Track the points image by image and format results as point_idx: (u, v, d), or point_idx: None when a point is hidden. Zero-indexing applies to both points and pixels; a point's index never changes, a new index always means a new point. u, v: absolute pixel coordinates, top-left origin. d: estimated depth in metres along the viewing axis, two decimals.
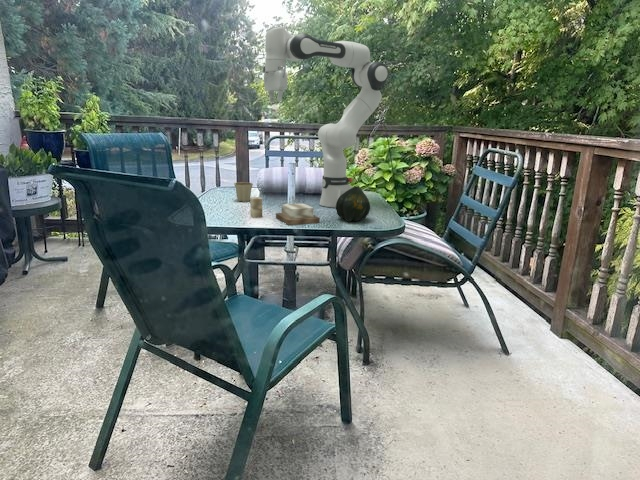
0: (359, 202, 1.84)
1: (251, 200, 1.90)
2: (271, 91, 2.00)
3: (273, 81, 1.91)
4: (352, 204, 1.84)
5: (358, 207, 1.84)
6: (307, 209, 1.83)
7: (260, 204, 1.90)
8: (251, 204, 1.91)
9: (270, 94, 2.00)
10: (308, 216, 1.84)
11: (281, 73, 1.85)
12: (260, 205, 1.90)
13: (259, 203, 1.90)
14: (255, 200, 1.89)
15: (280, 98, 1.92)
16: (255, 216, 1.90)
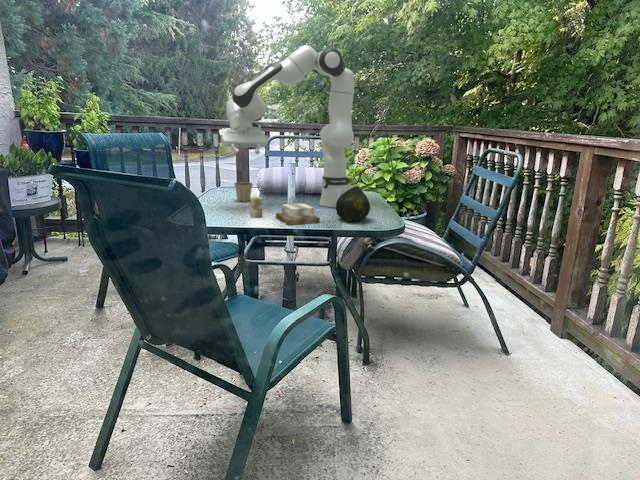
0: (359, 202, 1.84)
1: (251, 200, 1.90)
2: (256, 145, 2.00)
3: None
4: (352, 204, 1.84)
5: (358, 207, 1.84)
6: (307, 209, 1.83)
7: (260, 204, 1.90)
8: (251, 204, 1.91)
9: None
10: (308, 216, 1.84)
11: None
12: (260, 205, 1.90)
13: (259, 203, 1.90)
14: (255, 200, 1.89)
15: (234, 150, 1.94)
16: (255, 216, 1.90)
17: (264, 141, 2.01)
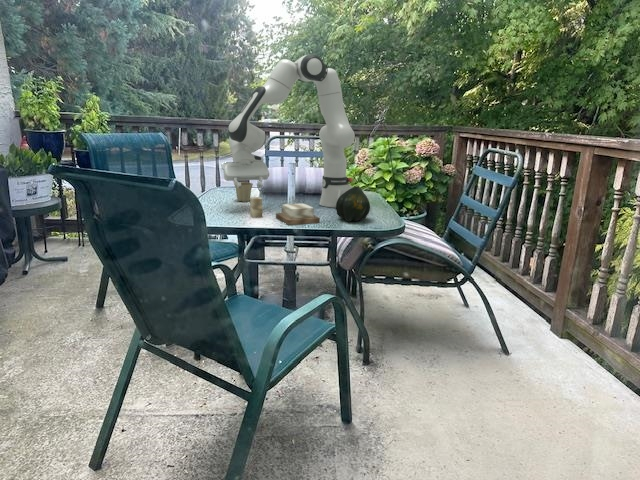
0: (359, 202, 1.84)
1: (251, 200, 1.90)
2: (259, 178, 2.01)
3: None
4: (352, 204, 1.84)
5: (358, 207, 1.84)
6: (307, 209, 1.83)
7: (260, 204, 1.90)
8: (251, 204, 1.91)
9: (260, 181, 2.01)
10: (308, 216, 1.84)
11: None
12: (260, 205, 1.90)
13: (259, 203, 1.90)
14: (255, 200, 1.88)
15: (237, 184, 1.95)
16: (255, 216, 1.90)
17: (267, 174, 2.01)
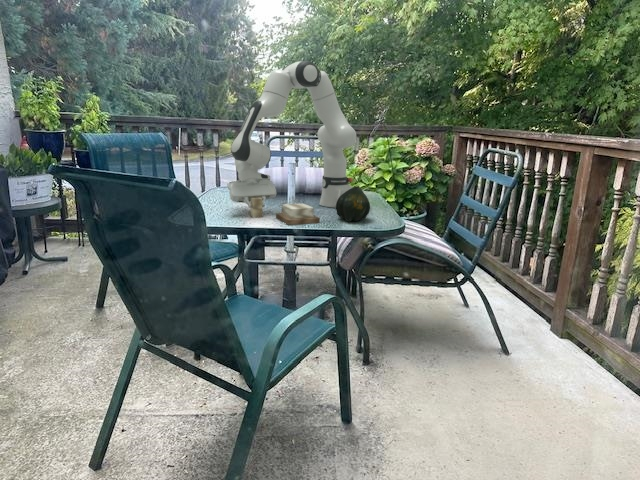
0: (359, 202, 1.84)
1: (251, 200, 1.90)
2: None
3: None
4: (352, 204, 1.84)
5: (358, 207, 1.84)
6: (307, 209, 1.83)
7: (260, 204, 1.90)
8: None
9: (262, 200, 1.94)
10: (308, 216, 1.84)
11: None
12: (260, 205, 1.90)
13: (259, 203, 1.90)
14: (255, 200, 1.88)
15: (248, 204, 1.90)
16: (255, 216, 1.90)
17: (274, 193, 1.95)
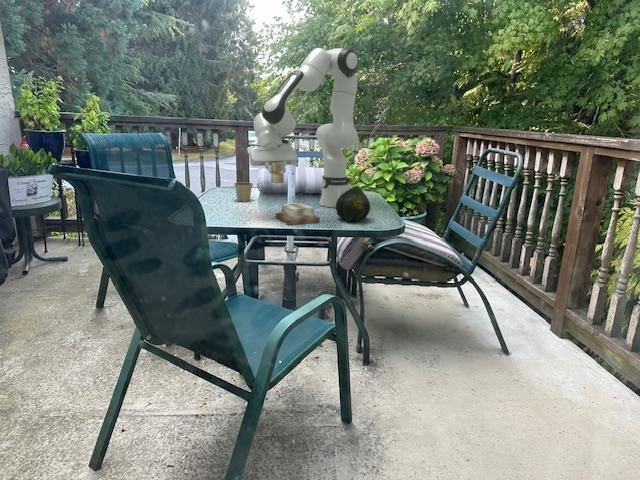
0: (359, 202, 1.84)
1: (272, 165, 1.84)
2: None
3: None
4: (352, 204, 1.84)
5: (358, 207, 1.84)
6: (307, 209, 1.83)
7: (281, 169, 1.84)
8: None
9: None
10: (308, 216, 1.84)
11: None
12: (281, 170, 1.84)
13: (280, 168, 1.84)
14: (276, 165, 1.82)
15: (269, 169, 1.84)
16: (276, 182, 1.84)
17: (295, 158, 1.89)
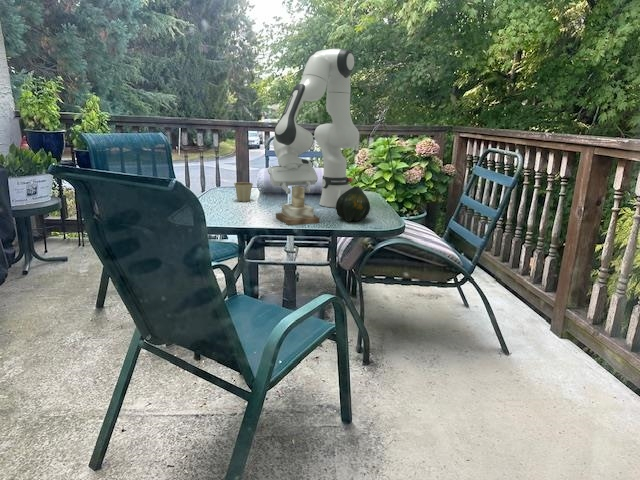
0: (359, 202, 1.84)
1: (293, 189, 1.84)
2: (306, 183, 1.88)
3: None
4: (352, 204, 1.84)
5: (358, 207, 1.84)
6: (307, 209, 1.83)
7: (302, 193, 1.84)
8: (293, 193, 1.85)
9: (307, 186, 1.88)
10: (308, 216, 1.84)
11: None
12: (302, 194, 1.84)
13: (301, 192, 1.83)
14: (297, 189, 1.82)
15: (286, 190, 1.83)
16: (297, 206, 1.84)
17: (315, 179, 1.89)
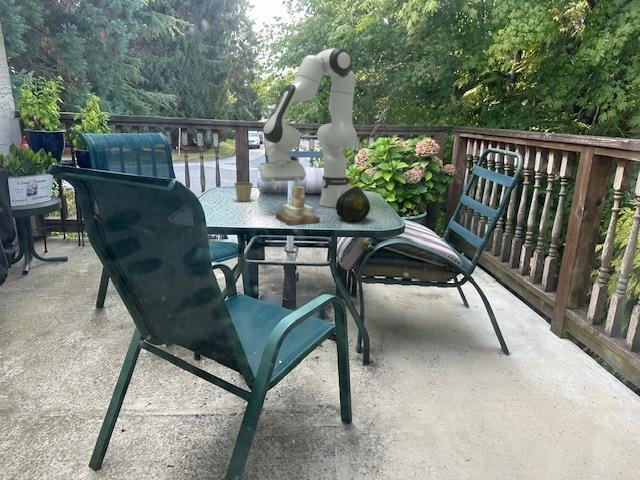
0: (359, 202, 1.84)
1: (293, 189, 1.84)
2: (295, 179, 2.00)
3: None
4: (352, 204, 1.84)
5: (358, 207, 1.84)
6: (307, 209, 1.83)
7: (302, 193, 1.84)
8: (293, 193, 1.85)
9: None
10: (308, 216, 1.84)
11: None
12: (302, 194, 1.84)
13: (301, 192, 1.83)
14: (297, 189, 1.82)
15: (275, 185, 1.93)
16: (297, 206, 1.84)
17: (303, 175, 2.00)
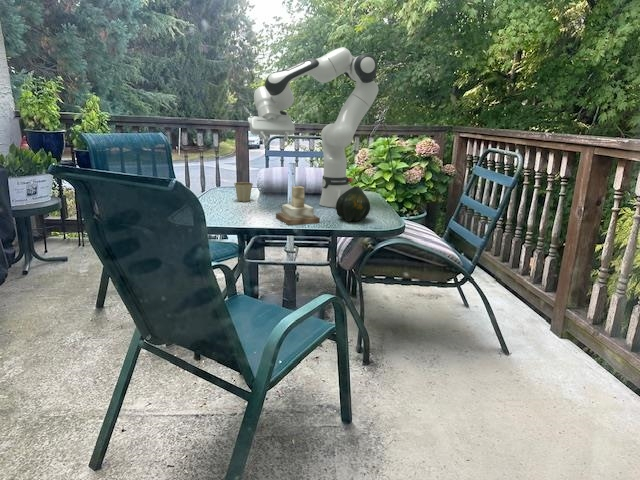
0: (359, 202, 1.84)
1: (293, 189, 1.84)
2: (284, 133, 2.01)
3: None
4: (352, 204, 1.84)
5: (358, 207, 1.84)
6: (307, 209, 1.83)
7: (302, 193, 1.84)
8: (293, 193, 1.85)
9: None
10: (308, 216, 1.84)
11: None
12: (302, 194, 1.84)
13: (301, 192, 1.83)
14: (297, 189, 1.82)
15: (264, 138, 1.94)
16: (297, 206, 1.84)
17: (292, 129, 2.01)
